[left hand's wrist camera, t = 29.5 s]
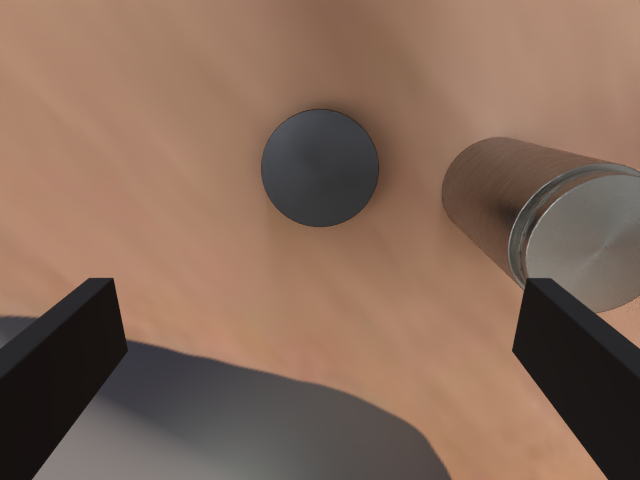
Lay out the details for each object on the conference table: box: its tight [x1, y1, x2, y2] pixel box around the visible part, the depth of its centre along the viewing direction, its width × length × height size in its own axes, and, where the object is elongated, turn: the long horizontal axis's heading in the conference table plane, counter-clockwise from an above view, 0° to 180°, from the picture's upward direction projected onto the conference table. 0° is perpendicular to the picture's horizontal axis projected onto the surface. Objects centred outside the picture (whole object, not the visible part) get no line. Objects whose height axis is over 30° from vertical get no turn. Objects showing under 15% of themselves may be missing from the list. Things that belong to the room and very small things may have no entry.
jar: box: [442, 137, 640, 313], centre depth 31 cm, size 10×10×16 cm
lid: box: [261, 109, 379, 227], centre depth 38 cm, size 11×11×2 cm
